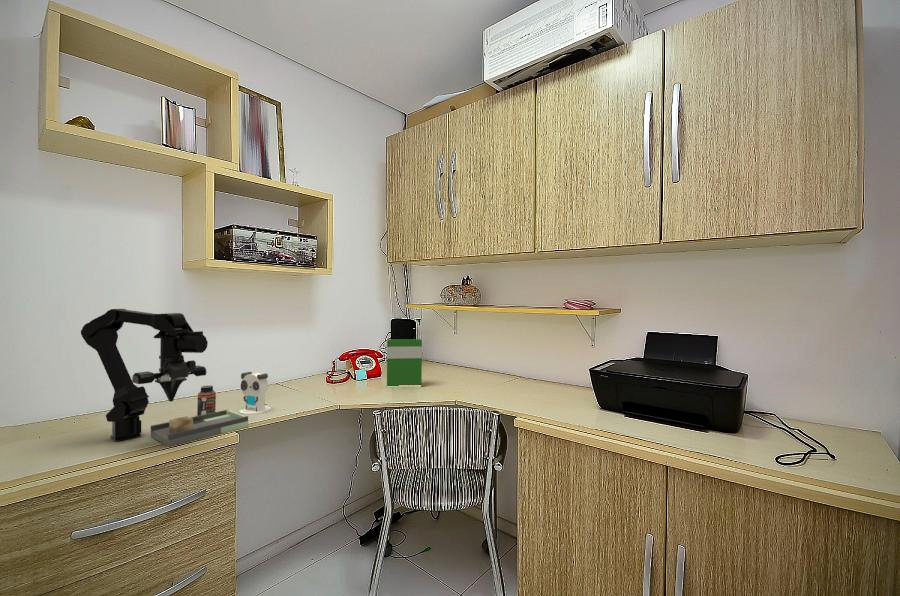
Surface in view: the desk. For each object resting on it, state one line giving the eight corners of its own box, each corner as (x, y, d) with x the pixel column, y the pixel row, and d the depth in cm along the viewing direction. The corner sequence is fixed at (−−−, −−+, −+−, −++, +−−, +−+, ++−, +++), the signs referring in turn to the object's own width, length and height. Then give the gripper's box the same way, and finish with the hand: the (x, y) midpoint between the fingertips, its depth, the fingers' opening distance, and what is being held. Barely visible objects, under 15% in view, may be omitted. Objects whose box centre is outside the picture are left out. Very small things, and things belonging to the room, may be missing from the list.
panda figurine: (231, 411, 157) (232, 374, 157) (256, 405, 167) (257, 369, 167) (252, 415, 152) (252, 376, 152) (276, 408, 162) (277, 372, 162)
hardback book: (420, 384, 211) (420, 339, 211) (421, 387, 204) (421, 340, 204) (387, 384, 209) (387, 339, 209) (386, 388, 201) (387, 340, 201)
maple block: (175, 433, 125) (175, 422, 125) (169, 430, 128) (169, 419, 128) (193, 429, 129) (193, 418, 129) (186, 426, 132) (186, 416, 132)
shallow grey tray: (168, 446, 120) (168, 435, 120) (150, 436, 128) (150, 425, 128) (248, 426, 139) (248, 416, 139) (227, 418, 148) (227, 409, 148)
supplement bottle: (206, 418, 148) (207, 388, 148) (193, 417, 149) (193, 387, 149) (219, 414, 154) (219, 385, 154) (206, 413, 155) (206, 384, 155)
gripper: (145, 358, 114) (144, 412, 114) (214, 351, 129) (213, 399, 129) (132, 354, 121) (131, 405, 121) (199, 348, 136) (198, 394, 136)
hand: (170, 401), depth 127 cm, fingers closed
